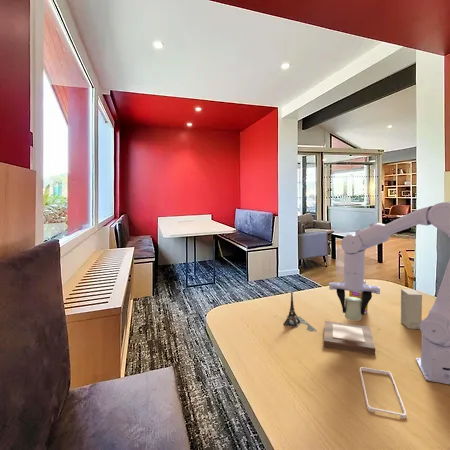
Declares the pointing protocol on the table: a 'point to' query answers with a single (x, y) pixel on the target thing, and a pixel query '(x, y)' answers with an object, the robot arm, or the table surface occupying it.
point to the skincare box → (411, 308)
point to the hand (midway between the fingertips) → (353, 312)
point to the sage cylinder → (353, 308)
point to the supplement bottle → (358, 296)
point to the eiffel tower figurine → (295, 318)
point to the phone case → (395, 390)
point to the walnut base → (348, 337)
